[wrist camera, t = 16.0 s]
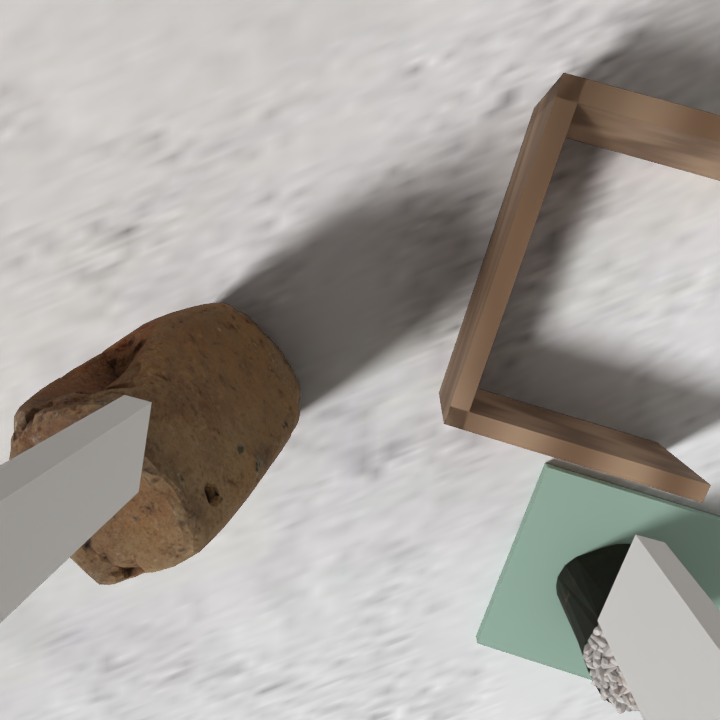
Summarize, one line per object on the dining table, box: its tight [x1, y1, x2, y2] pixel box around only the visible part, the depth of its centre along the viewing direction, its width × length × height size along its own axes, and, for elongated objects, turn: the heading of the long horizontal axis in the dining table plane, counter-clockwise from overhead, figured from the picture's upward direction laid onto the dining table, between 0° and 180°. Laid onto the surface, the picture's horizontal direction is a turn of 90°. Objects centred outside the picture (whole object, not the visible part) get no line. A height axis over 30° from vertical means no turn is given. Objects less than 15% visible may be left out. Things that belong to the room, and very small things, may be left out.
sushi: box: [556, 544, 639, 714], centre depth 36 cm, size 8×8×8 cm
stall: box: [439, 73, 720, 502], centre depth 33 cm, size 16×20×7 cm
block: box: [9, 303, 300, 585], centre depth 30 cm, size 11×8×20 cm
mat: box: [476, 463, 720, 680], centre depth 40 cm, size 16×16×1 cm
